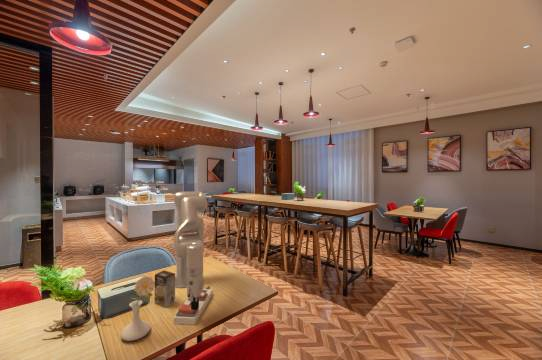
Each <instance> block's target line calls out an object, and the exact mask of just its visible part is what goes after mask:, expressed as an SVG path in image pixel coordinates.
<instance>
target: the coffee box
mask: <svg viewBox="0 0 542 360" xmlns="http://www.w3.org/2000/svg"><path fill="white" fill-rule="evenodd" d="M175 276H176V273H174V272H171V271H167V270H162V271H159V272H157V273H155V274H154V282H155V285H154V286H155V287H154V304H155V305H158V306H161V307H163V308H168V307H170V306H171V305H173V304H174V303H175V302H176V287H175Z"/></svg>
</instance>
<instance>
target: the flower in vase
mask: <svg viewBox="0 0 542 360" xmlns="http://www.w3.org/2000/svg"><path fill="white" fill-rule="evenodd" d="M154 291H155V280H154V279H153V277H151V276H149V275H148V276H142V277H140V278H139V279H138V280H136V283H135V285H134V292H135V293H136V294H137V296H140V297H139V298H137V297H130V299H131V300H134V301H132V302H130V303H129V304H128V305H129V307H130V308H131V310H132V321H131V322H129V323H128V324H127V325H125V327H124V328H123V329H122V330H121V332H120V338H121V339H122V340H124V341H128V342H129V341H136V340H139V339H141V338H144V337H145V336H146V335H147V334H148V333H149V332H150V330H151V328H152V327H151V324H150V322H148V321H146V320H143V319H141V318H140V308H141V305H142V304H143V303H144V302H143V300H141V299H142V298H144V299H149V298H151V297H152V296H153V293H152V292H154Z"/></svg>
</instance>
